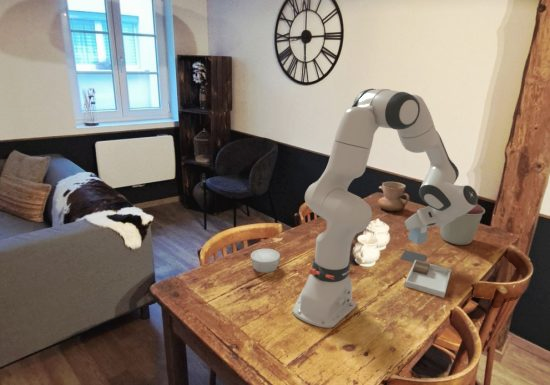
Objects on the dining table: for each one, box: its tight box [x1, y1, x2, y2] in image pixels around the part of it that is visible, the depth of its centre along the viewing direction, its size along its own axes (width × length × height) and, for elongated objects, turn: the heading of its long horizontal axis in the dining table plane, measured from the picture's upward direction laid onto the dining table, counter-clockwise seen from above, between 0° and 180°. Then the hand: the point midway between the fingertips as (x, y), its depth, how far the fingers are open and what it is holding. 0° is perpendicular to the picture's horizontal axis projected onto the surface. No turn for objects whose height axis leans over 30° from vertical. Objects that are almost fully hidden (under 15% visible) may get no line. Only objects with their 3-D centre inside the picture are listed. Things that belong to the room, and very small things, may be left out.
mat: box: [399, 249, 428, 263], centre depth 153 cm, size 9×9×1 cm
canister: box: [439, 203, 486, 246], centre depth 168 cm, size 18×18×21 cm
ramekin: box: [250, 248, 281, 274], centre depth 144 cm, size 11×11×5 cm
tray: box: [404, 260, 452, 298], centre depth 137 cm, size 18×13×3 cm
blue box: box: [407, 227, 429, 245], centre depth 149 cm, size 5×4×10 cm
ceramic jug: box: [377, 181, 410, 212], centre depth 204 cm, size 18×14×14 cm
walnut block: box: [413, 260, 431, 275], centre depth 143 cm, size 5×5×2 cm
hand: (417, 227), depth 150 cm, fingers closed on blue box, 4 cm apart
